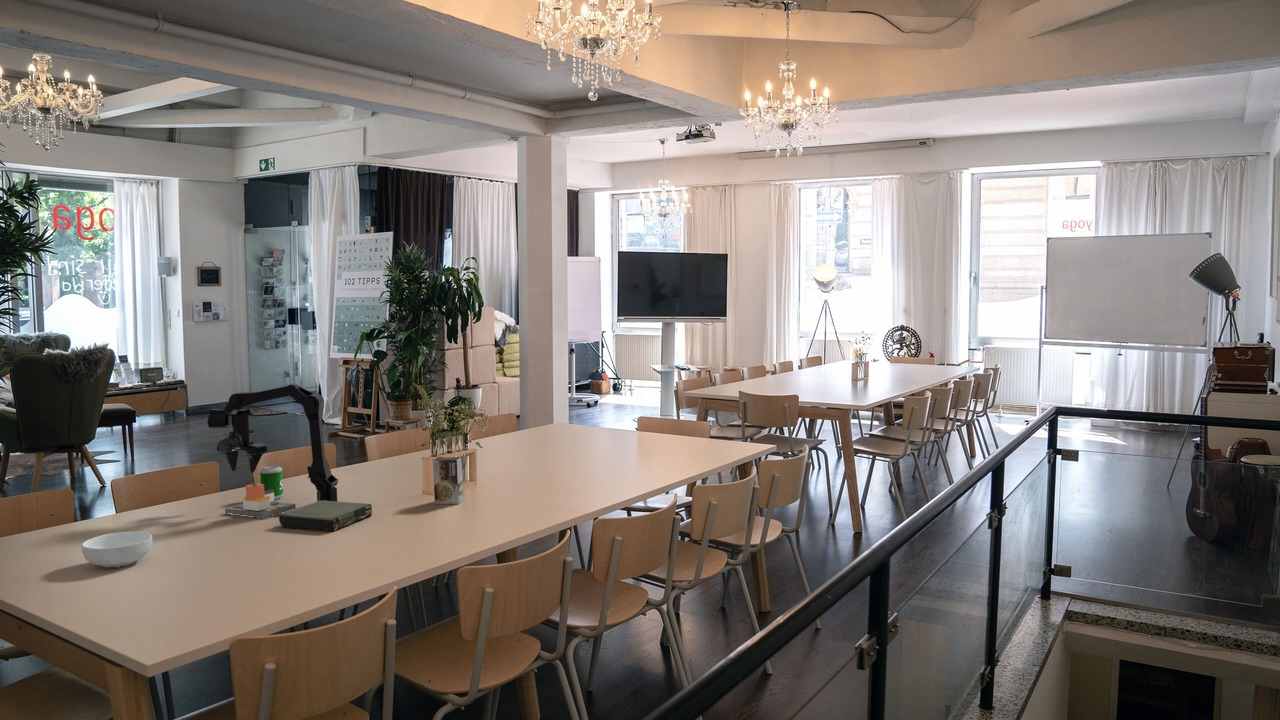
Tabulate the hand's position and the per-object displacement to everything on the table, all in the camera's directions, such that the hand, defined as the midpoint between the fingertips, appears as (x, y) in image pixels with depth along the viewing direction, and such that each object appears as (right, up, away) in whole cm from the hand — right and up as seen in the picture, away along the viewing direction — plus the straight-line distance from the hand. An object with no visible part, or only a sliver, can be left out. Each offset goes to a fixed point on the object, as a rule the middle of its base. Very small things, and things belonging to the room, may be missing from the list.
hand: (243, 471), depth 308 cm
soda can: (+4, -12, +15) cm, 19 cm away
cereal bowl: (-6, -18, -63) cm, 66 cm away
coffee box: (+72, -12, +6) cm, 73 cm away
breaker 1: (+9, -11, -10) cm, 18 cm away
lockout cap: (+9, -8, -10) cm, 16 cm away
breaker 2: (+6, -11, 0) cm, 12 cm away
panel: (+8, -13, -5) cm, 17 cm away
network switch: (+37, -15, -20) cm, 44 cm away
